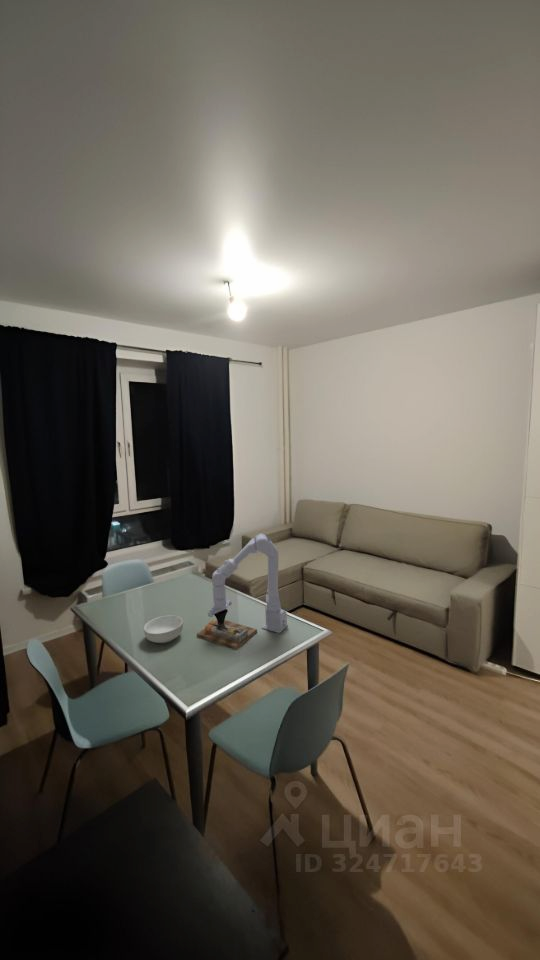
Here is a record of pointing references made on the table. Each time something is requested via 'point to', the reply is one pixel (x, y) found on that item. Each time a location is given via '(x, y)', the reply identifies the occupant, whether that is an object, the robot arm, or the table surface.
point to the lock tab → (231, 630)
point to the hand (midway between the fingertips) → (221, 625)
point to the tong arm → (224, 626)
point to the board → (225, 641)
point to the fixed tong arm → (222, 633)
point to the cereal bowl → (163, 628)
